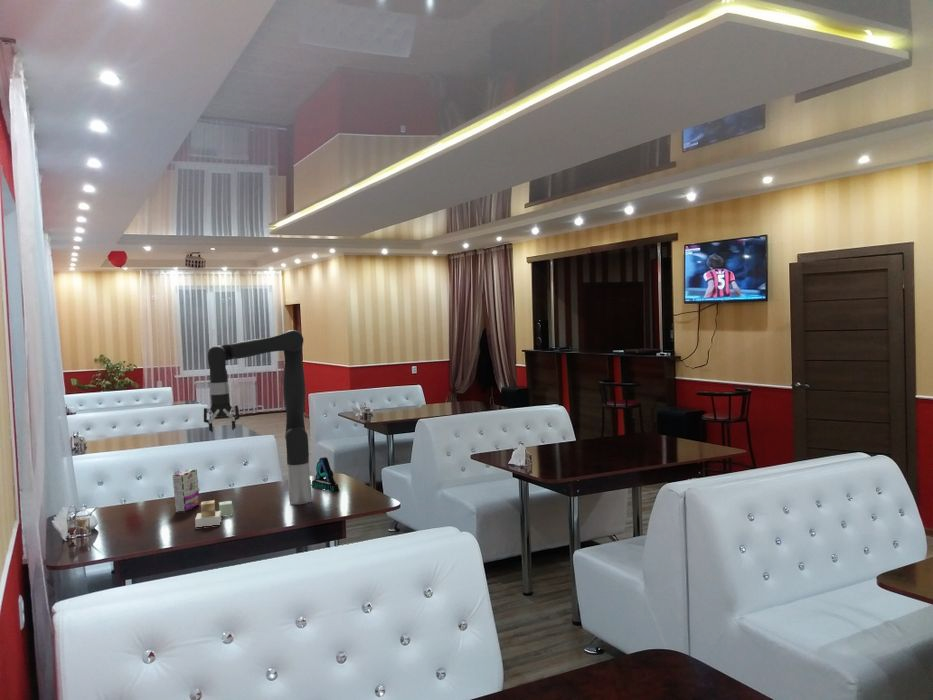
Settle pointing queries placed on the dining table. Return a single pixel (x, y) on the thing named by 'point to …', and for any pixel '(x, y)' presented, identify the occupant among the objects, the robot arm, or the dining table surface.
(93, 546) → the dining table surface
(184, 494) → the candy bar box
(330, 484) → the decorative sign
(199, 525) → the cream block
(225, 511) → the sage cube
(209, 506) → the oak cube
